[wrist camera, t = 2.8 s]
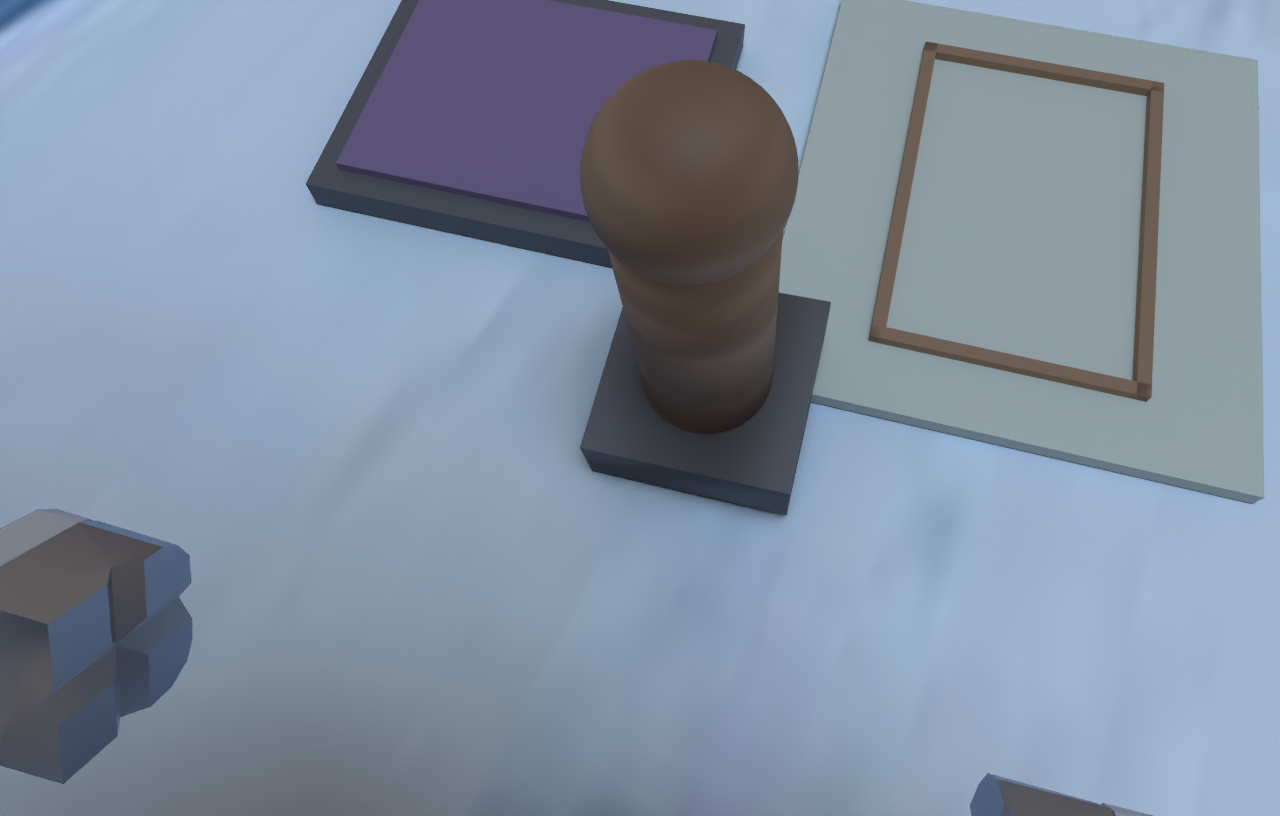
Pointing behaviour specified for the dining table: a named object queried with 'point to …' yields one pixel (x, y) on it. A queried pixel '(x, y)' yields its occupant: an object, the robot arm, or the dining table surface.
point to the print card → (1038, 241)
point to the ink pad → (498, 113)
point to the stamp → (699, 287)
